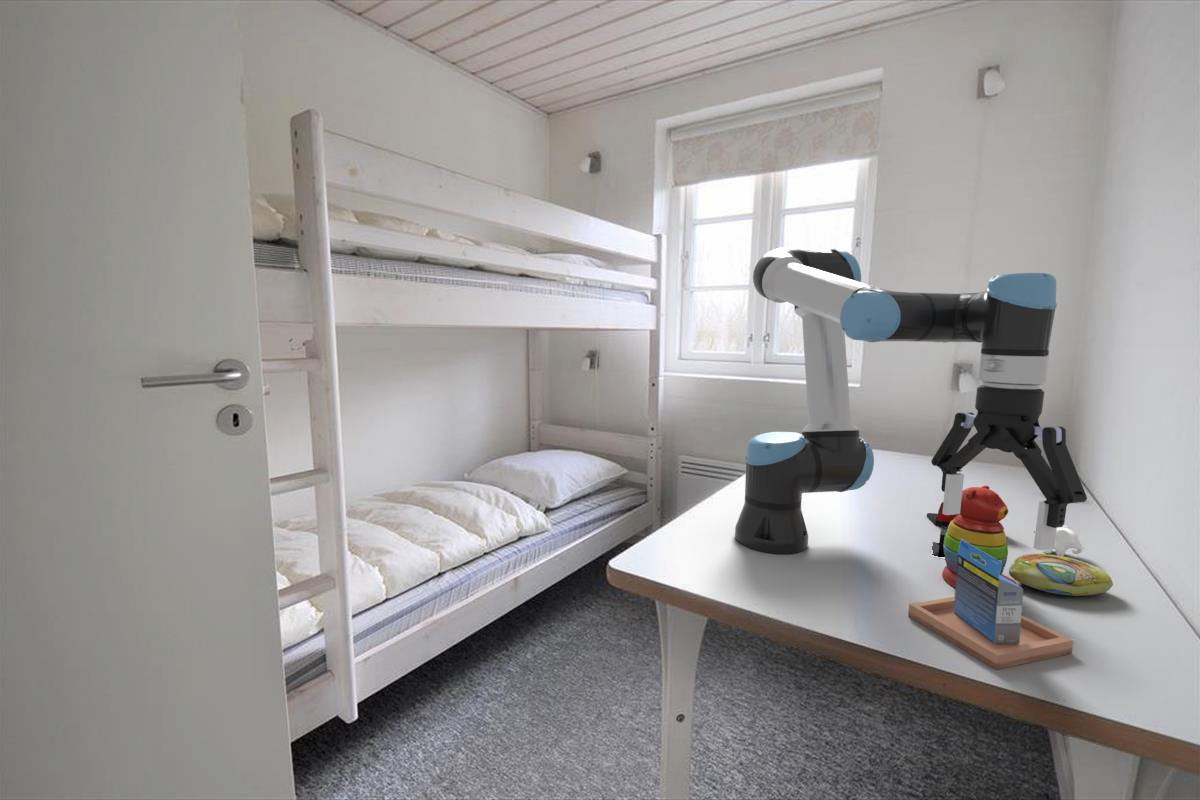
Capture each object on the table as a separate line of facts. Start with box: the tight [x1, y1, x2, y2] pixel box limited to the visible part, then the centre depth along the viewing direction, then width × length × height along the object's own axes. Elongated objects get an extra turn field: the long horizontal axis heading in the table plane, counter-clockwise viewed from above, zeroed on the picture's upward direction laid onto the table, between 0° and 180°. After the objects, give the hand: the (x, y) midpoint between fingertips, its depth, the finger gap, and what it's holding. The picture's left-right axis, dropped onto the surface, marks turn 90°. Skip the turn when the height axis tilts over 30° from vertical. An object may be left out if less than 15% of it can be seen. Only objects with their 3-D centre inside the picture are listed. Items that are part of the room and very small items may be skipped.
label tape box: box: [954, 539, 1024, 644], centre depth 77 cm, size 9×4×12 cm, turn 0°
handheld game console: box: [926, 501, 960, 528], centre depth 123 cm, size 12×11×7 cm
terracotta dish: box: [907, 596, 1074, 671], centre depth 78 cm, size 14×14×2 cm
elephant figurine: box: [1033, 523, 1084, 557], centre depth 107 cm, size 7×8×6 cm
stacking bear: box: [941, 485, 1018, 589], centre depth 93 cm, size 11×10×18 cm
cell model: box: [1008, 553, 1114, 597], centre depth 93 cm, size 11×8×15 cm
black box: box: [931, 529, 947, 557], centre depth 108 cm, size 12×7×5 cm, turn 144°
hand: (993, 529), depth 76 cm, fingers open, 13 cm apart
